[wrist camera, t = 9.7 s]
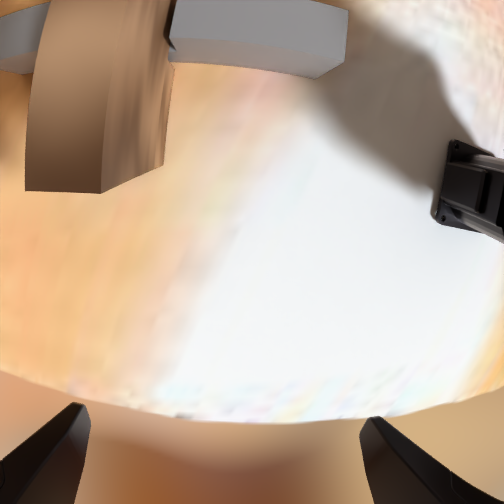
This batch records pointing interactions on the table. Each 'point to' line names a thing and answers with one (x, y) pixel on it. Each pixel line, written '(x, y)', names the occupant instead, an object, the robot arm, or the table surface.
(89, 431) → the robot arm
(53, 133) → the walnut slat
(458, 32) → the table surface
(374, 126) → the table surface
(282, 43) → the notched gray bar
